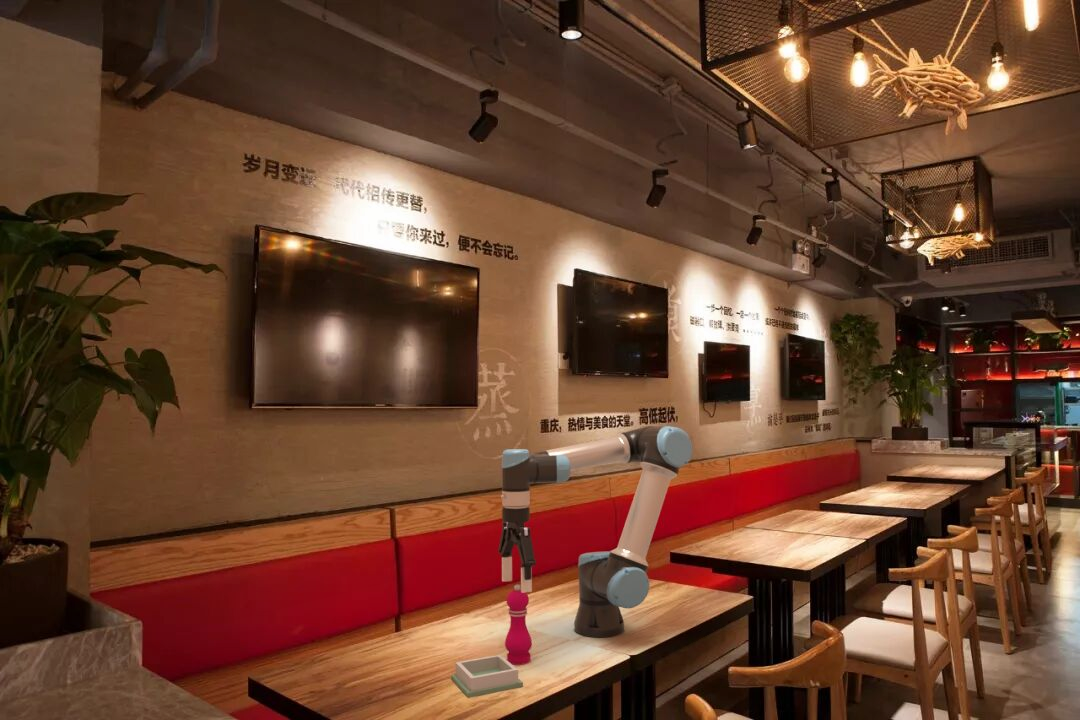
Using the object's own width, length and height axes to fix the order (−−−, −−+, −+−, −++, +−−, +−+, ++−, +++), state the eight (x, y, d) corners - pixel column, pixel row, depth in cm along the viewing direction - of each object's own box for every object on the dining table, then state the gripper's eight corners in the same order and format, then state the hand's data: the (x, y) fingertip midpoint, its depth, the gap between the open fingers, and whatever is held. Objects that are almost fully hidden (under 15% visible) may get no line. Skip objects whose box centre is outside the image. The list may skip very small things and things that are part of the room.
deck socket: (503, 669, 181) (503, 653, 181) (523, 686, 169) (522, 669, 169) (451, 678, 175) (451, 662, 175) (467, 697, 163) (467, 679, 163)
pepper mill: (528, 666, 183) (527, 588, 184) (502, 664, 184) (501, 587, 186) (534, 656, 190) (533, 581, 191) (508, 655, 191) (507, 580, 193)
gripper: (486, 502, 200) (487, 578, 198) (521, 513, 177) (521, 598, 175) (511, 500, 203) (511, 575, 201) (547, 511, 180) (548, 595, 178)
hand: (516, 586), depth 188 cm, fingers open, 13 cm apart
